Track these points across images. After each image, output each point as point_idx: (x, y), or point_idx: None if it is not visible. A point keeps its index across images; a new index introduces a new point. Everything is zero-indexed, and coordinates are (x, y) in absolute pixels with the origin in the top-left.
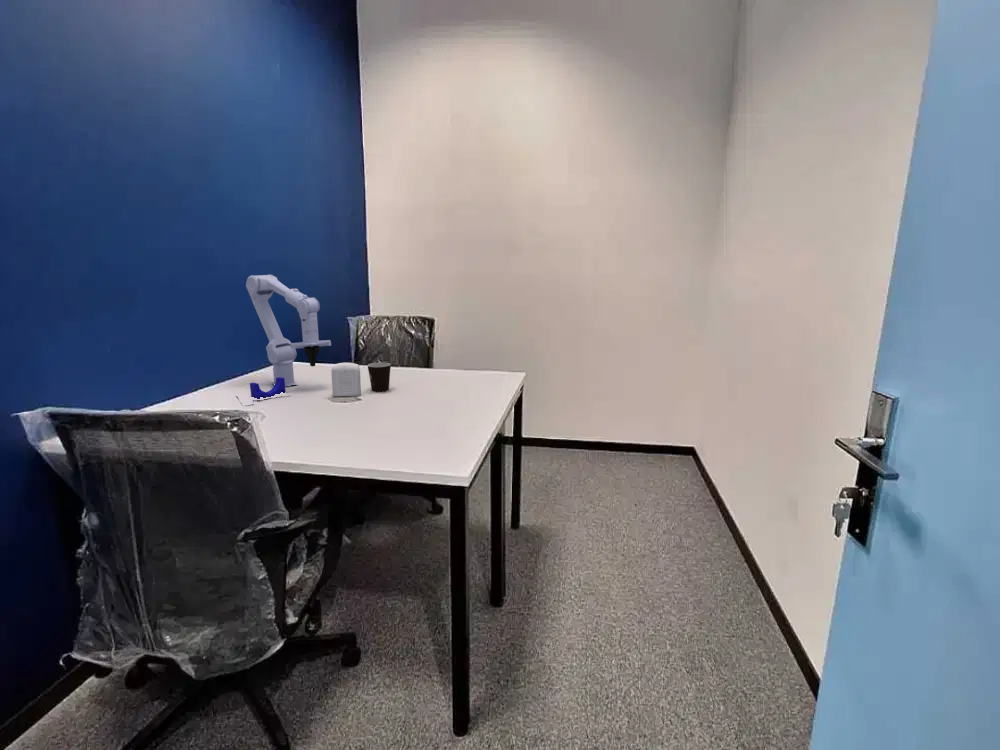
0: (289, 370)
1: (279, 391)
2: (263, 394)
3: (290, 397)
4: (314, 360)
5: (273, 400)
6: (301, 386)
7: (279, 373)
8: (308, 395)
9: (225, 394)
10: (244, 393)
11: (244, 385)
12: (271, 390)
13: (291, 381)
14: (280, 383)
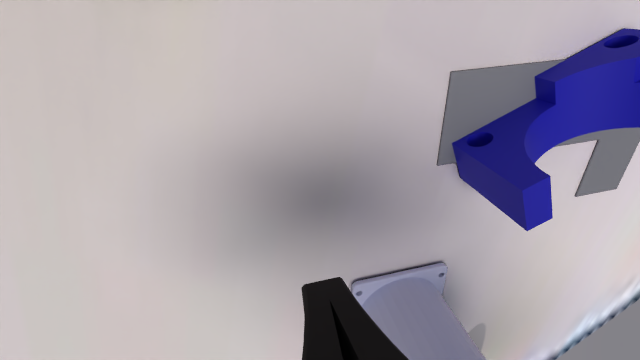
0: (418, 355)
1: (500, 132)
2: (626, 51)
3: (461, 39)
4: (325, 335)
5: (561, 11)
6: (336, 265)
7: (463, 333)
8: (352, 36)
9: (619, 226)
10: (570, 219)
11: (511, 325)
12: (536, 148)
13: (383, 302)
14: (527, 158)
